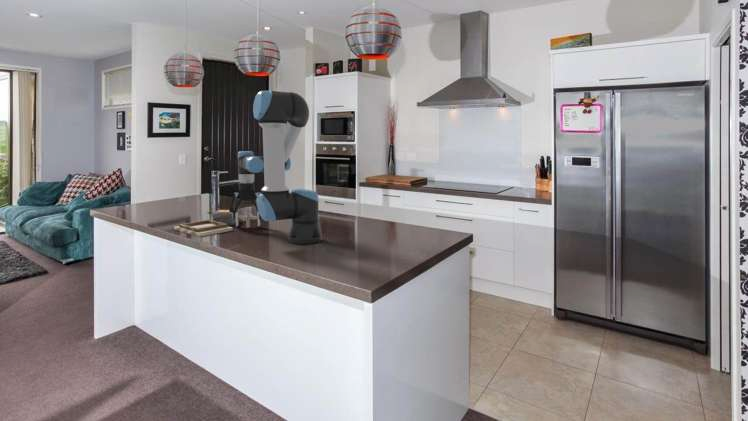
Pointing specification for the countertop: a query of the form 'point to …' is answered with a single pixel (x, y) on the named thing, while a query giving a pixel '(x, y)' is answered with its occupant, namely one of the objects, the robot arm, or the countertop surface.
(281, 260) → the countertop surface
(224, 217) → the button housing
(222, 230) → the pallet
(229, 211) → the button
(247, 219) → the pipe connector
